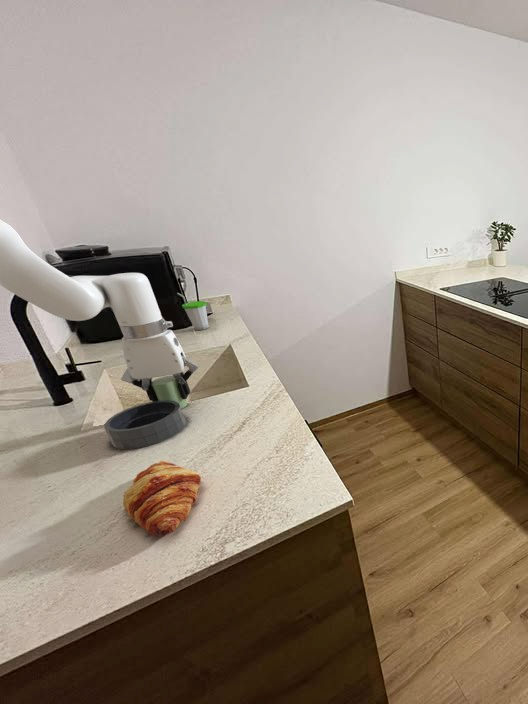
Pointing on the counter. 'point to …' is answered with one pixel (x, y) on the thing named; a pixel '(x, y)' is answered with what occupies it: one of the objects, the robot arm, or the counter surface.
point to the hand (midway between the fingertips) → (171, 398)
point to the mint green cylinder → (168, 390)
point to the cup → (196, 313)
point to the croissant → (161, 497)
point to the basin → (145, 424)
